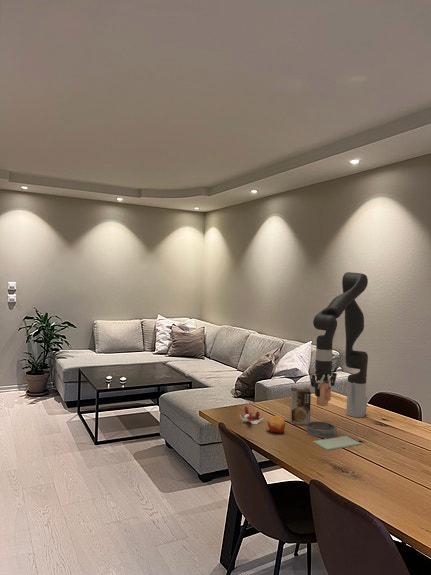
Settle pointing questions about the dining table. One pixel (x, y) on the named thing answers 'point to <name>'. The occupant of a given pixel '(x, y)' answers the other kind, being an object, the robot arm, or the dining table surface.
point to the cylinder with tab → (324, 394)
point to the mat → (336, 443)
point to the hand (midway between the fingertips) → (322, 395)
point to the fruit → (276, 424)
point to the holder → (321, 433)
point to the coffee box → (300, 405)
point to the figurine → (251, 417)
